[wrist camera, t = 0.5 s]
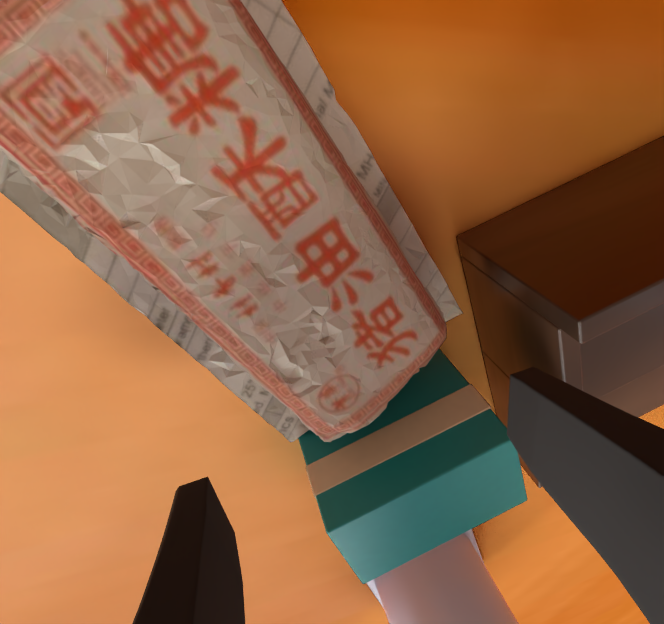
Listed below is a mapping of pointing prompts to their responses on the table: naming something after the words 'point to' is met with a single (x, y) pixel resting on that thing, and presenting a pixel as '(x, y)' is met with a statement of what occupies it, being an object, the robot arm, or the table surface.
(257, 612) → the table surface
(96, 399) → the table surface
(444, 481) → the block
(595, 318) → the step shelf
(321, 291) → the packaged product
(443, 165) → the table surface
